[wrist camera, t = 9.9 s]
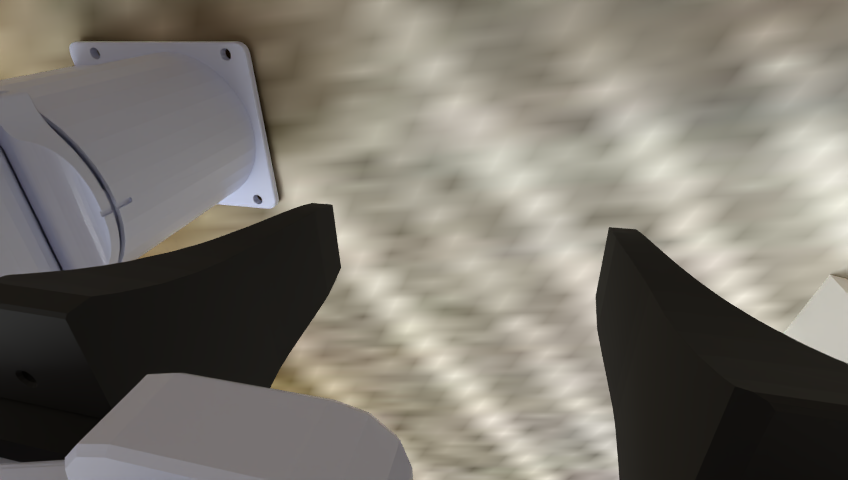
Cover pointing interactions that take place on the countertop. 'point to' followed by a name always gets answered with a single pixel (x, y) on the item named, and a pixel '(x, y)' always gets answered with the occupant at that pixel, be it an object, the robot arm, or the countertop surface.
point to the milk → (825, 320)
